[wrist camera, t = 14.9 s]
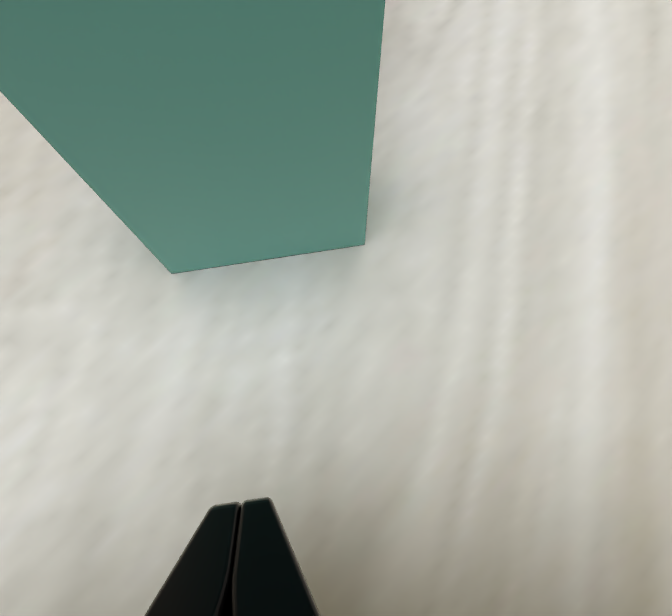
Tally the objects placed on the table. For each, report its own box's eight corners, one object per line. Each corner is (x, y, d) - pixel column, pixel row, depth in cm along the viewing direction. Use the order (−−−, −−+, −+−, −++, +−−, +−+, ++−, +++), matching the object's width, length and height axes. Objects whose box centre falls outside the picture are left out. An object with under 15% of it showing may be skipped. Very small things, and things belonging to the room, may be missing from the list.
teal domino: (364, 244, 18) (422, -442, 4) (171, 273, 18) (-402, -338, 4) (352, 175, 18) (367, -615, 5) (165, 202, 18) (-354, -535, 5)
